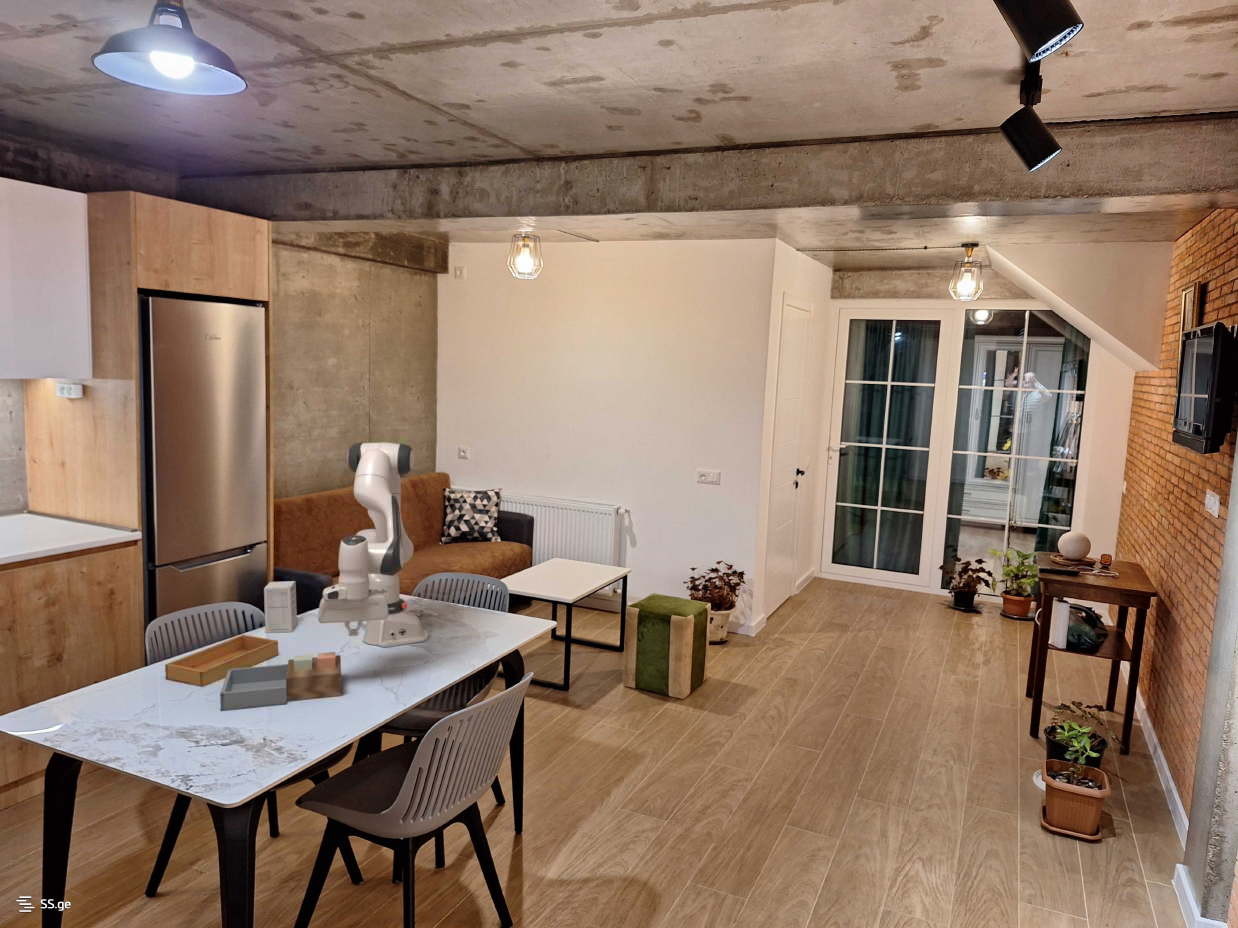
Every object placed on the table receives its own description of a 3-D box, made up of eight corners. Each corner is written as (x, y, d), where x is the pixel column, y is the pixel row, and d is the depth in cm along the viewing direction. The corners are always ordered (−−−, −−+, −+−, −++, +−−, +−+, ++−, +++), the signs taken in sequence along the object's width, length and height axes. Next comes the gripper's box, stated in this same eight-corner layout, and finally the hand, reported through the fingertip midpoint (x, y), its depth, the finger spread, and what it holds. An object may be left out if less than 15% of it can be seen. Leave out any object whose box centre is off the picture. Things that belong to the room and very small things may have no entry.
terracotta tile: (335, 661, 253) (335, 651, 253) (335, 667, 248) (335, 657, 248) (317, 663, 251) (317, 653, 251) (317, 668, 247) (317, 658, 246)
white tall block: (297, 624, 311) (296, 580, 309) (292, 632, 302) (291, 586, 300) (270, 625, 309) (269, 581, 307) (264, 633, 300) (263, 587, 298)
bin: (289, 679, 256) (289, 663, 256) (286, 704, 237) (285, 687, 237) (228, 685, 251) (228, 669, 250) (220, 710, 232) (220, 693, 231)
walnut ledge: (340, 676, 259) (340, 655, 258) (341, 695, 244) (341, 672, 243) (289, 681, 254) (288, 659, 254) (286, 701, 239) (286, 678, 239)
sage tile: (312, 663, 251) (312, 653, 250) (312, 669, 246) (312, 659, 246) (294, 665, 249) (294, 655, 249) (294, 670, 244) (294, 660, 244)
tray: (202, 688, 249) (202, 670, 248) (165, 680, 254) (164, 662, 254) (278, 656, 277) (278, 640, 277) (243, 650, 283) (243, 634, 282)
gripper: (388, 586, 256) (388, 630, 257) (318, 589, 249) (318, 634, 251) (390, 591, 250) (389, 635, 251) (318, 594, 243) (318, 640, 245)
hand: (353, 635), depth 251 cm, fingers closed
